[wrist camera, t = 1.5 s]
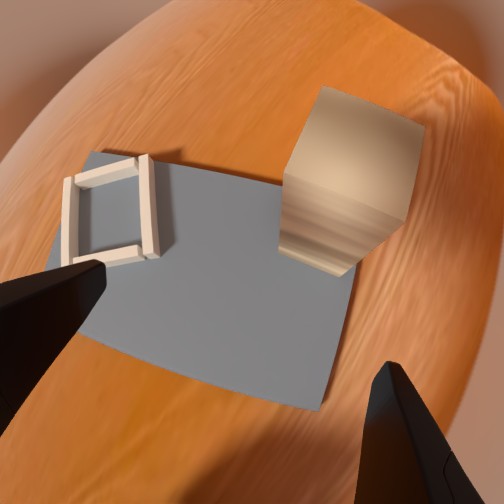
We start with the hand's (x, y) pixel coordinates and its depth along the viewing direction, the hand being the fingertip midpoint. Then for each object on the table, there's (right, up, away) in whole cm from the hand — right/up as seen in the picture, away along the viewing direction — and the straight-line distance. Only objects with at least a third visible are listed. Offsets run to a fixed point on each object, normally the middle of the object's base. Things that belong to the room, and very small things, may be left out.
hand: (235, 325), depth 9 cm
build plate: (-5, +1, +15) cm, 16 cm away
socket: (-11, +5, +16) cm, 20 cm away
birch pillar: (+5, +3, +14) cm, 15 cm away
